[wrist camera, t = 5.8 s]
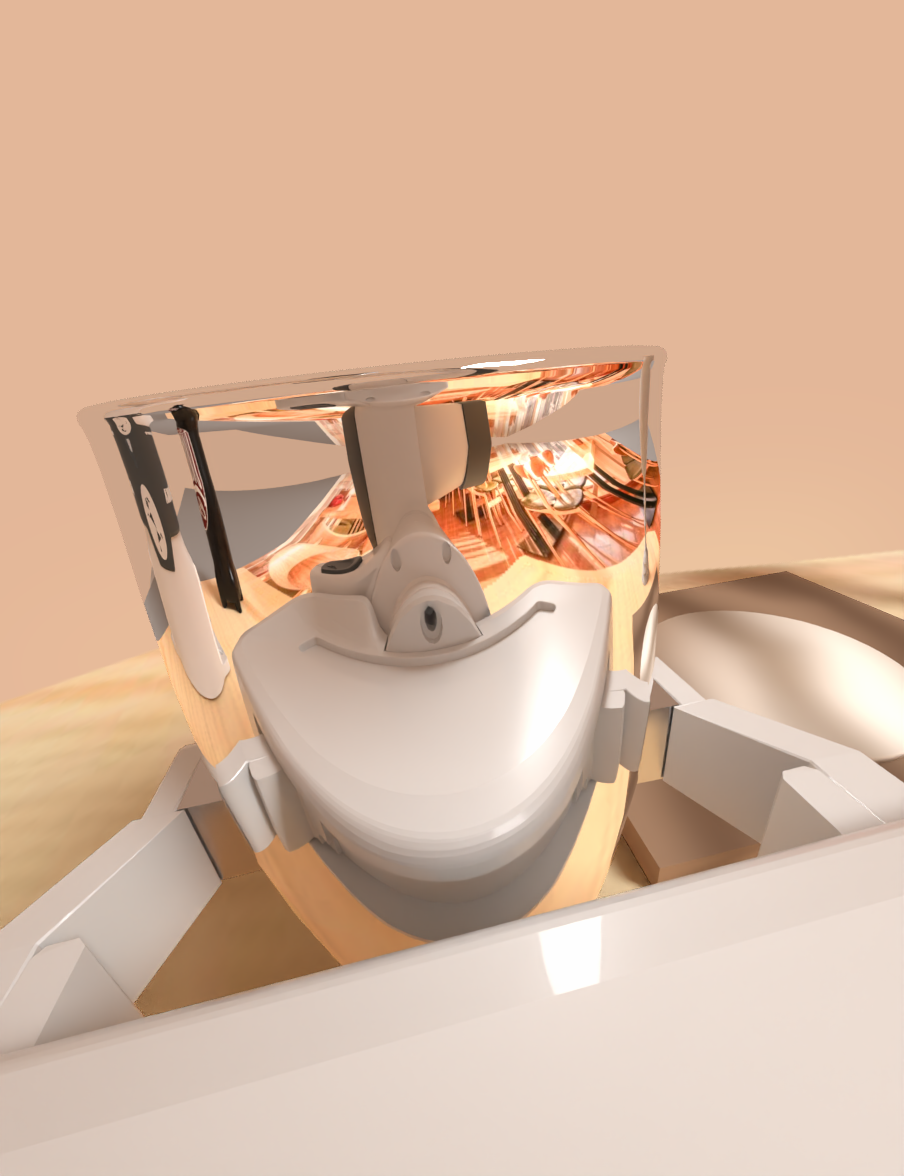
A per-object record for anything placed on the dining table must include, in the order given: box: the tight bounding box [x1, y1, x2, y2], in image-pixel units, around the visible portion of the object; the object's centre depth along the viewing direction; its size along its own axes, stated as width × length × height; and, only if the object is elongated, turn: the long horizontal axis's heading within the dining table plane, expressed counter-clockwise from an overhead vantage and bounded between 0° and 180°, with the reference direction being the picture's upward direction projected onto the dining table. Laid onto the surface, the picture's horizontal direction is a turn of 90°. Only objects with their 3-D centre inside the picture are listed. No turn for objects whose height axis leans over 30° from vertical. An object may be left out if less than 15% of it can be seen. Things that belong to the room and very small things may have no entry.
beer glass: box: [77, 346, 667, 966], centre depth 9 cm, size 7×7×15 cm
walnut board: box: [622, 571, 904, 885], centre depth 21 cm, size 20×16×2 cm
